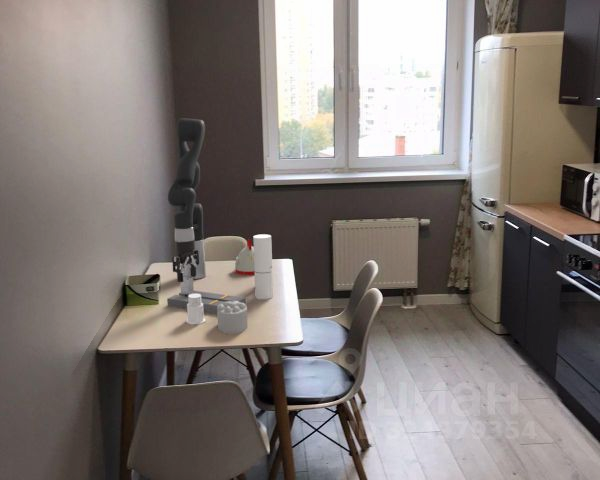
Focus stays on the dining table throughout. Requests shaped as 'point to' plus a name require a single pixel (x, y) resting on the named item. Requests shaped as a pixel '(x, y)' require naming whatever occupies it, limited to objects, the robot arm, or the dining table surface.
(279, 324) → the dining table surface
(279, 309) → the dining table surface
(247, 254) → the kitchen timer
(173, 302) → the fader console
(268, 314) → the dining table surface
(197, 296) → the downlight
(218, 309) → the lumpy-topped squat cylinder
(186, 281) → the fader knob
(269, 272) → the cylindrical container
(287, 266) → the dining table surface
